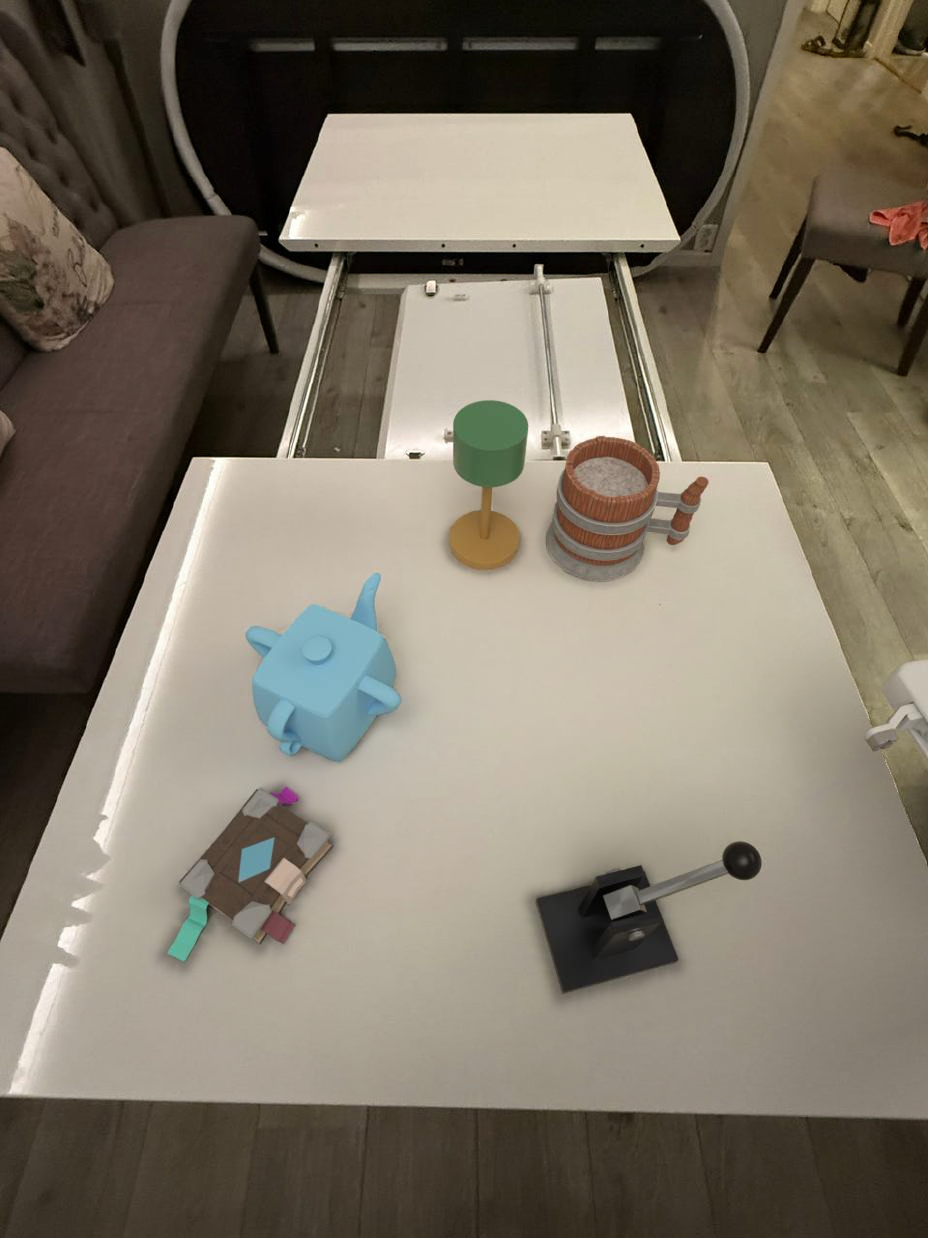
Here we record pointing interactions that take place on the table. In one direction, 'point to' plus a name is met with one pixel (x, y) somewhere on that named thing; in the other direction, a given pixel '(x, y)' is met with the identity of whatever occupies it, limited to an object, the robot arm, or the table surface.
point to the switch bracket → (602, 933)
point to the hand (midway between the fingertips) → (903, 792)
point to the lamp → (487, 480)
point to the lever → (685, 881)
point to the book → (253, 870)
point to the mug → (613, 509)
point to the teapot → (324, 678)
